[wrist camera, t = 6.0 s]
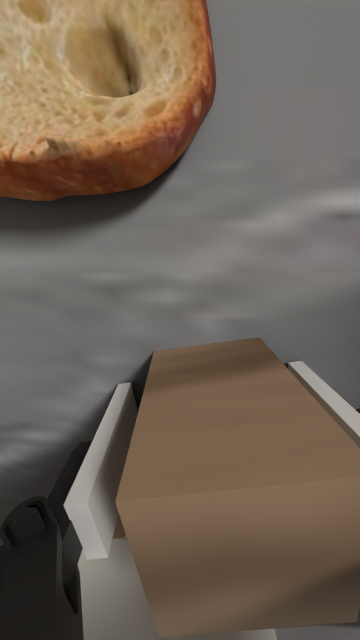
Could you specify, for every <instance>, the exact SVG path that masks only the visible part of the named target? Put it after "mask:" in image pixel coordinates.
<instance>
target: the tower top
mask: <svg viewBox="0 0 360 640" xmlns="http://www.w3.org/2000/svg"><path fill="white" fill-rule="evenodd" d="M78 568H79V572H80V584H81V601H82V619H83V637H84V640H277V636H276V632H275V629H262V630H249V631H236V632H223V633H210V634H197V635H184V636H170V637H159V635H158V632H157V629H156V626H155V623H154V620H153V617H152V613H151V610H150V607H149V604H148V601H147V598H146V595H145V592H144V589H143V586H142V583H141V580H140V576H139V573H138V570H137V567H136V564H135V561H134V558H133V555H132V552H131V549H130V546H129V543H128V540H127V539H112V542H111V547H110V551H109V555H108V558H100V559H90V560H87V559H86V557H85V555H84V552H83V550H82V552H81V555H80V559H79V562H78Z"/></svg>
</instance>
